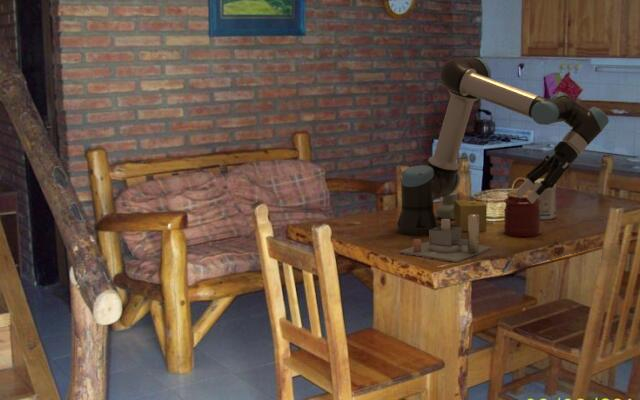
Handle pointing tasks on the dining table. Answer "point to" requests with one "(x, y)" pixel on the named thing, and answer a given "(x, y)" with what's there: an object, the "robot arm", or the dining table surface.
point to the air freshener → (447, 207)
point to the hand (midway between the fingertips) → (523, 198)
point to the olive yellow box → (466, 208)
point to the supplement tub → (547, 201)
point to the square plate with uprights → (442, 248)
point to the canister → (521, 215)
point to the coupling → (458, 235)
